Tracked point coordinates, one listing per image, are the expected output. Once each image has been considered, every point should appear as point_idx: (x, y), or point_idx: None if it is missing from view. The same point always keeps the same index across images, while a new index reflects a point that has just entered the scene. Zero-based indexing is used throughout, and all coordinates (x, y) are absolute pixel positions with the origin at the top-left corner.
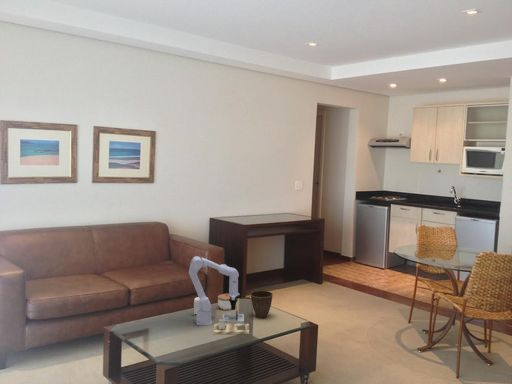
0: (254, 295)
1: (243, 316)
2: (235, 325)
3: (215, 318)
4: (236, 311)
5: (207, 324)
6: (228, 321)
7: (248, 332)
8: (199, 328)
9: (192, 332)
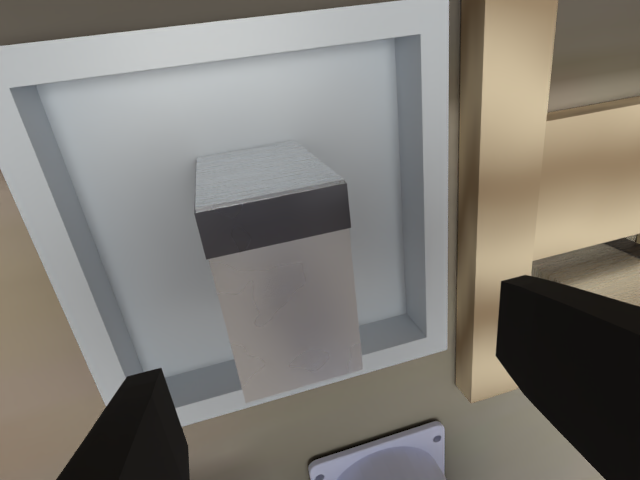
0: None
1: (164, 36)
2: (548, 136)
3: (201, 461)
4: (284, 226)
5: (444, 454)
6: (445, 269)
7: None
8: (510, 470)
9: (587, 476)
